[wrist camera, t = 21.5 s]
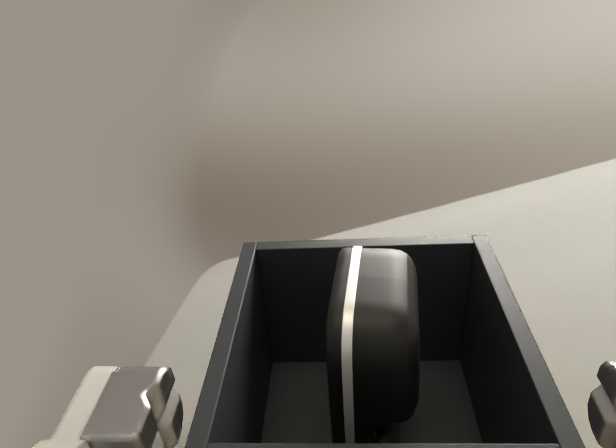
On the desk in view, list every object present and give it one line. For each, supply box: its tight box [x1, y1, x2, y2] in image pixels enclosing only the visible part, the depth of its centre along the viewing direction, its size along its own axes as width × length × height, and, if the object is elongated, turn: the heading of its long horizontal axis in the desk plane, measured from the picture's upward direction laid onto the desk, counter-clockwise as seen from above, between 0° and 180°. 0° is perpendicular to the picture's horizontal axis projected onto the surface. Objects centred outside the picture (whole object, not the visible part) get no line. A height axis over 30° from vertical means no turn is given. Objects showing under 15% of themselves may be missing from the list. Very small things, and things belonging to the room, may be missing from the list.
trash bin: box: [185, 235, 585, 448], centre depth 25 cm, size 14×14×10 cm
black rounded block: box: [326, 246, 420, 443], centre depth 24 cm, size 7×4×11 cm, turn 171°
